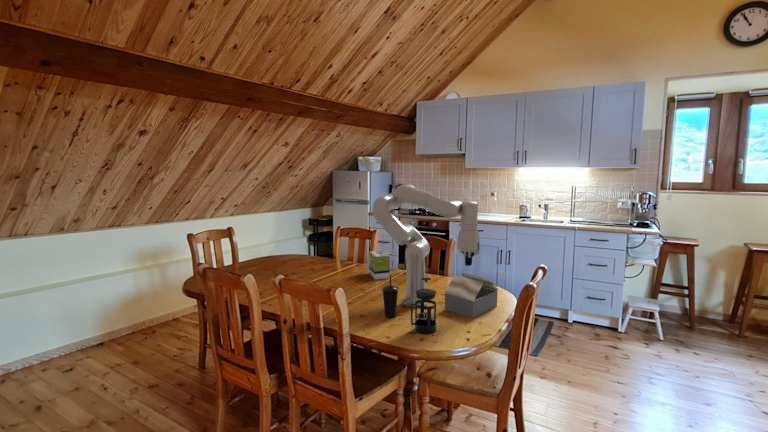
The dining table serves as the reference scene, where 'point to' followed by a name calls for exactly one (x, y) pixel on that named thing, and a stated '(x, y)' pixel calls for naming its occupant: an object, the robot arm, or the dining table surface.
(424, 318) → the french press
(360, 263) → the dining table surface
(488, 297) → the storage box
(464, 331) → the dining table surface
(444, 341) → the dining table surface
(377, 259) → the tea box
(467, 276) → the far flap
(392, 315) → the drinking cup
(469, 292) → the near flap
